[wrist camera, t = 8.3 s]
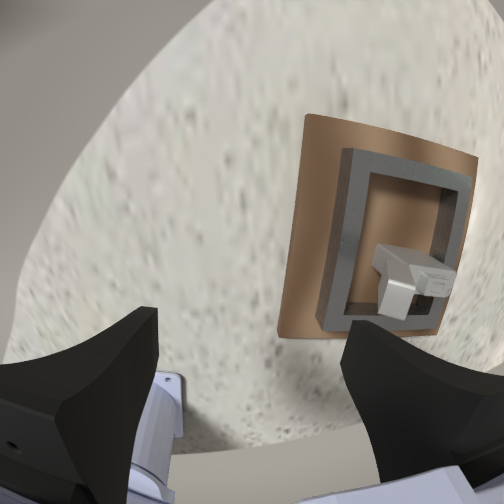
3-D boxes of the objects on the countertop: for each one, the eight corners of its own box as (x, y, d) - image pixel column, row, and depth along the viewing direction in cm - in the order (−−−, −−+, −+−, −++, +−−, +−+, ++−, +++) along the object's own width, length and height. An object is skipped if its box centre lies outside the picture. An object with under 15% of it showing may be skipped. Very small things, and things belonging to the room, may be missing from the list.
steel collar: (314, 316, 22) (322, 331, 20) (341, 147, 18) (353, 147, 17) (423, 316, 23) (435, 328, 21) (455, 174, 19) (472, 177, 17)
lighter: (423, 251, 21) (494, 295, 13) (416, 273, 21) (483, 324, 14) (337, 236, 20) (394, 284, 13) (331, 261, 21) (382, 321, 13)
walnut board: (277, 330, 23) (278, 337, 22) (305, 115, 19) (308, 113, 18) (431, 329, 24) (436, 334, 23) (470, 156, 20) (478, 157, 19)
